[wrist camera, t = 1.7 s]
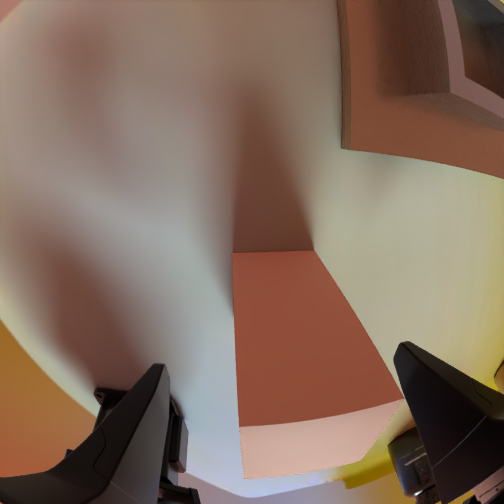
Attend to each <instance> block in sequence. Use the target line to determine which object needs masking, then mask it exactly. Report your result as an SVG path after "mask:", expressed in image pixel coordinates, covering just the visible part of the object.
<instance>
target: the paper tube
mask: <svg viewBox="0 0 504 504" xmlns="http://www.w3.org/2000/svg"><path fill="white" fill-rule="evenodd" d="M494 380H495V384H496V385H497V387H498V388H499V390H500V391H501V392H502V394H504V363H503V364H502V366H501V367H500V369H499V370H498V372H497V374H496V376H495V379H494Z"/></svg>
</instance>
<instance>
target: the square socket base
mask: <svg viewBox="0 0 504 504" xmlns="http://www.w3.org/2000/svg"><path fill="white" fill-rule="evenodd" d="M337 4H338V14H339V25H340V39H341V58H342V149H347V150H355V151H365V152H373V153H381V154H389V155H396V156H403V157H409V158H415V159H421V160H426V161H432V162H437V163H442V164H447V165H451V166H456V167H460V168H465V169H469V170H473V171H477V172H481V173H484V174H488V175H492V176H495V177H499V178H502V179H504V4H503V3H502V2H501V1H500V0H337Z"/></svg>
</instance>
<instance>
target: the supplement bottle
mask: <svg viewBox="0 0 504 504" xmlns="http://www.w3.org/2000/svg"><path fill="white" fill-rule="evenodd" d="M388 452H389V455H390V457H391V460H392V463H393V465H394V468H395V471H396V473H397V476H398V479H399V482H400V485H401V488H402V490H403V493H404V495H405V496H406V497H409V498H416V502H415V504H436V503H438V502H439V501H441V500H440V496H439V493H438V489H437V486H436V482H435V479H434V476H433V473H432V469H431V466H430V463H429V460H428V457H427V454H426V451H425V448H424V445H423V443H422V440H421V437H420V434H419V432H418V429H417V427H415V428H413V429H411V430H409V431H408V432H406V433H404V434H402V435H401V436H399V437H398V438H397V439H395V440H394V441H393V442H392V443H391V444H390V445H389V448H388Z"/></svg>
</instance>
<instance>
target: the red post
mask: <svg viewBox="0 0 504 504" xmlns="http://www.w3.org/2000/svg"><path fill="white" fill-rule="evenodd" d="M232 267H233V301H234V330H235V354H236V376H237V396H238V415H239V430H240V442H241V453H242V464H243V475H244V479H257V478H269V477H279V476H287V475H295V474H301V473H308V472H313V471H319V470H324V469H329V468H333V467H338V466H342V465H346V464H350V463H354V462H357V461H360V460H361V459H362V458H363V456H364V455H365V454H366V453H367V451H368V450H369V449H370V447H371V446H372V445H373V444H374V442H375V441H376V440H377V438H378V437H379V435H380V434H381V433H382V431H383V430H384V429H385V427H386V426H387V424H388V423H389V421H390V420H391V418H392V417H393V415H394V414H395V412H396V411H397V409H398V408H399V406H400V404H401V403H402V401H403V400H404V397H403V395H402V393H401V391H400V389H399V387H398V386H397V384H396V382H395V380H394V378H393V377H392V375H391V373H390V371H389V370H388V368H387V366H386V364H385V363H384V361H383V359H382V357H381V356H380V354H379V352H378V351H377V349H376V347H375V345H374V344H373V342H372V340H371V339H370V337H369V335H368V334H367V332H366V330H365V329H364V327H363V325H362V324H361V322H360V320H359V319H358V317H357V316H356V314H355V312H354V311H353V309H352V308H351V306H350V304H349V303H348V301H347V300H346V298H345V296H344V295H343V293H342V292H341V290H340V289H339V287H338V285H337V284H336V282H335V281H334V279H333V278H332V276H331V275H330V273H329V272H328V270H327V269H326V267H325V266H324V264H323V263H322V261H321V260H320V258H319V257H318V255H317V254H316V252H315V251H314V250H304V251H274V252H243V253H232Z"/></svg>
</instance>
